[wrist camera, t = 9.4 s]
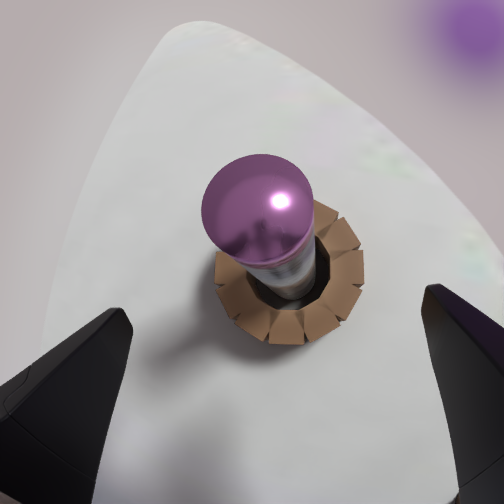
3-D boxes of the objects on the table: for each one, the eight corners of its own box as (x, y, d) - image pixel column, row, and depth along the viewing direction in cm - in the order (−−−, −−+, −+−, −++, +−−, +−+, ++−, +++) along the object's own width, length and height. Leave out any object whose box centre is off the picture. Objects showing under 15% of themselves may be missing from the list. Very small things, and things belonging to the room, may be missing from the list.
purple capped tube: (319, 294, 20) (325, 246, 8) (273, 303, 21) (207, 269, 8) (310, 249, 21) (299, 144, 9) (265, 258, 21) (197, 169, 9)
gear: (380, 298, 19) (390, 294, 16) (265, 364, 20) (256, 370, 17) (314, 192, 22) (313, 173, 19) (208, 252, 22) (192, 242, 20)
